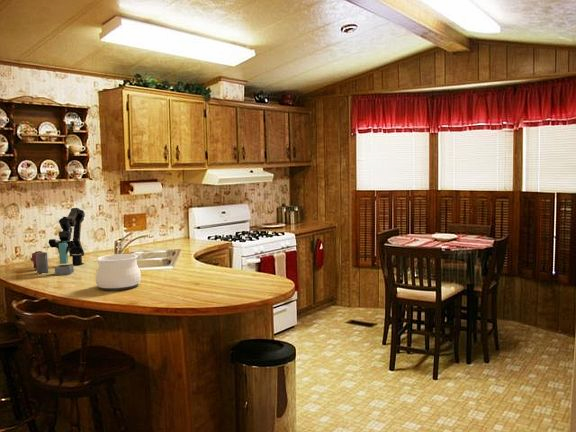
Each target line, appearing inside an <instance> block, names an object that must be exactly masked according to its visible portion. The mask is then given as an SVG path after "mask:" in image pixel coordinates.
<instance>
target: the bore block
mask: <svg viewBox="0 0 576 432" xmlns="http://www.w3.org/2000/svg"><path fill="white" fill-rule="evenodd" d="M74 270H75V268H74V265H73V263H70V264H58V265H56V266H55V267H54V276H67V275H71V274H74V272H75V271H74Z"/></svg>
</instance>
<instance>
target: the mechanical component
mask: <svg viewBox="0 0 576 432" xmlns="http://www.w3.org/2000/svg"><path fill="white" fill-rule="evenodd" d="M42 252H43V251H42V250H36V251H35V252H32V253H31V258H30V261H31V262H33V269H34V271H36V270H37V264H36V253H42Z"/></svg>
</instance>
